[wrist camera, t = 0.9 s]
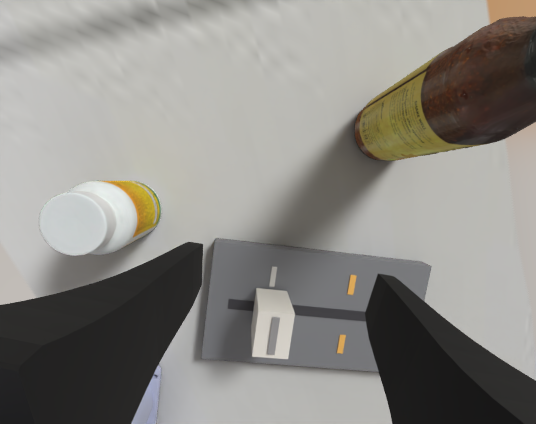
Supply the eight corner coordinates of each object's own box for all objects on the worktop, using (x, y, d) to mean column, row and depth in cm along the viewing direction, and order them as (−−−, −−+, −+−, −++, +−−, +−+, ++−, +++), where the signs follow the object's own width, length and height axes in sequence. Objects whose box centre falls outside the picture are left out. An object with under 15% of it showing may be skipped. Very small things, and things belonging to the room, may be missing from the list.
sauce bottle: (388, 173, 28) (737, 163, 8) (339, 139, 27) (592, 33, 7) (425, 118, 27) (888, -36, 8) (376, 81, 26) (755, -200, 7)
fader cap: (281, 329, 27) (288, 360, 22) (251, 326, 27) (252, 357, 22) (286, 291, 26) (295, 314, 22) (256, 287, 26) (258, 311, 22)
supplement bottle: (137, 246, 27) (76, 284, 17) (94, 208, 26) (5, 226, 16) (175, 208, 26) (135, 225, 17) (133, 168, 26) (66, 162, 16)
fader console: (400, 364, 30) (409, 374, 29) (203, 349, 28) (200, 359, 27) (422, 261, 29) (432, 266, 28) (216, 238, 27) (214, 241, 25)
